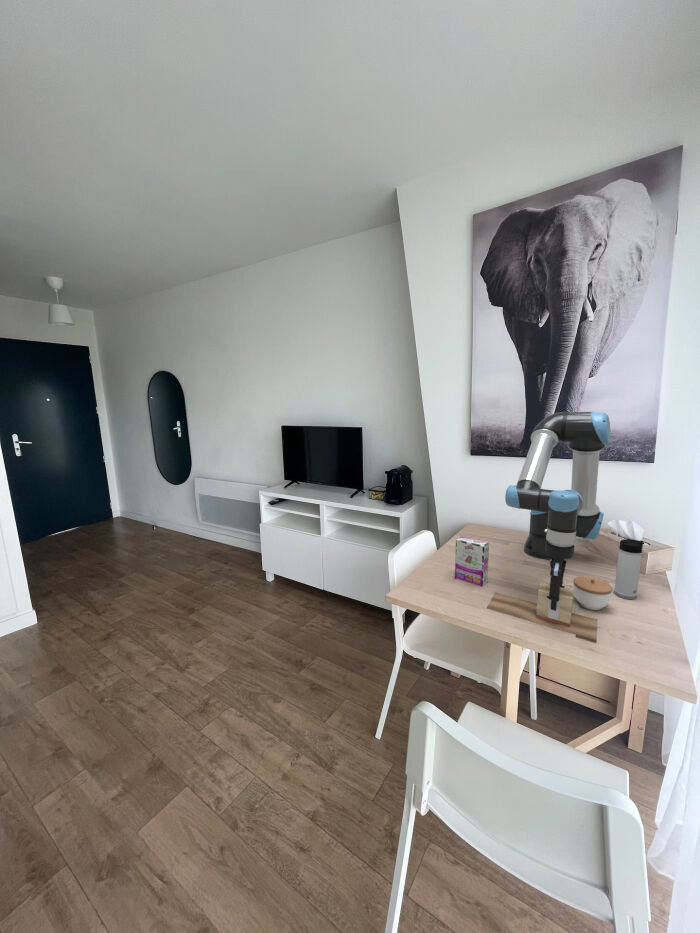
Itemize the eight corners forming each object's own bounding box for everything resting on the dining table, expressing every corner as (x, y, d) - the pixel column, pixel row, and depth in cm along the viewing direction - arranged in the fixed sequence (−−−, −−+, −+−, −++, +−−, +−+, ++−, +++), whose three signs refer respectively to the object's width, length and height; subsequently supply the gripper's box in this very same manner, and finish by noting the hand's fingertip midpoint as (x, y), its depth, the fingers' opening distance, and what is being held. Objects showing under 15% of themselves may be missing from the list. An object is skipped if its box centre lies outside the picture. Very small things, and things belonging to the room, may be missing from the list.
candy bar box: (487, 583, 136) (490, 542, 133) (482, 588, 133) (484, 546, 130) (460, 574, 144) (461, 535, 141) (454, 579, 140) (455, 539, 137)
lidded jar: (574, 593, 128) (576, 568, 127) (611, 603, 121) (614, 577, 120) (568, 606, 120) (571, 580, 118) (608, 618, 113) (611, 590, 112)
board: (495, 594, 128) (495, 592, 128) (596, 621, 112) (597, 619, 111) (486, 610, 119) (486, 608, 119) (596, 643, 102) (596, 640, 102)
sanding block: (539, 608, 118) (540, 582, 116) (571, 617, 113) (573, 590, 111) (536, 617, 113) (538, 590, 111) (569, 626, 108) (572, 599, 106)
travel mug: (640, 601, 122) (647, 545, 119) (617, 597, 125) (623, 542, 121) (633, 592, 128) (640, 538, 125) (611, 589, 130) (617, 536, 127)
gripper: (550, 530, 118) (544, 596, 122) (541, 550, 103) (535, 624, 107) (576, 535, 114) (570, 602, 118) (572, 556, 99) (565, 633, 103)
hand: (554, 612), depth 113 cm, fingers closed on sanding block, 6 cm apart
